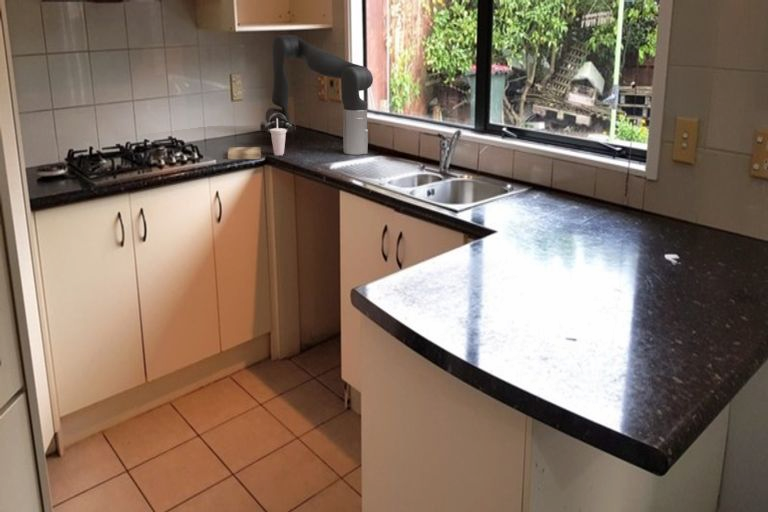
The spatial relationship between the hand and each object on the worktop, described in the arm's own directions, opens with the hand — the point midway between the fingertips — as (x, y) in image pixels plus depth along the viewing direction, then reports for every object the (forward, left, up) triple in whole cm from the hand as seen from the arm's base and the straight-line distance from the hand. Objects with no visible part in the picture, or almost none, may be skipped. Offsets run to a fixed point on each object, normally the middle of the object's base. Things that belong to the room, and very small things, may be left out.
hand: (278, 129), depth 282 cm
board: (+13, +11, -8) cm, 19 cm away
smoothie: (0, +9, -8) cm, 12 cm away
